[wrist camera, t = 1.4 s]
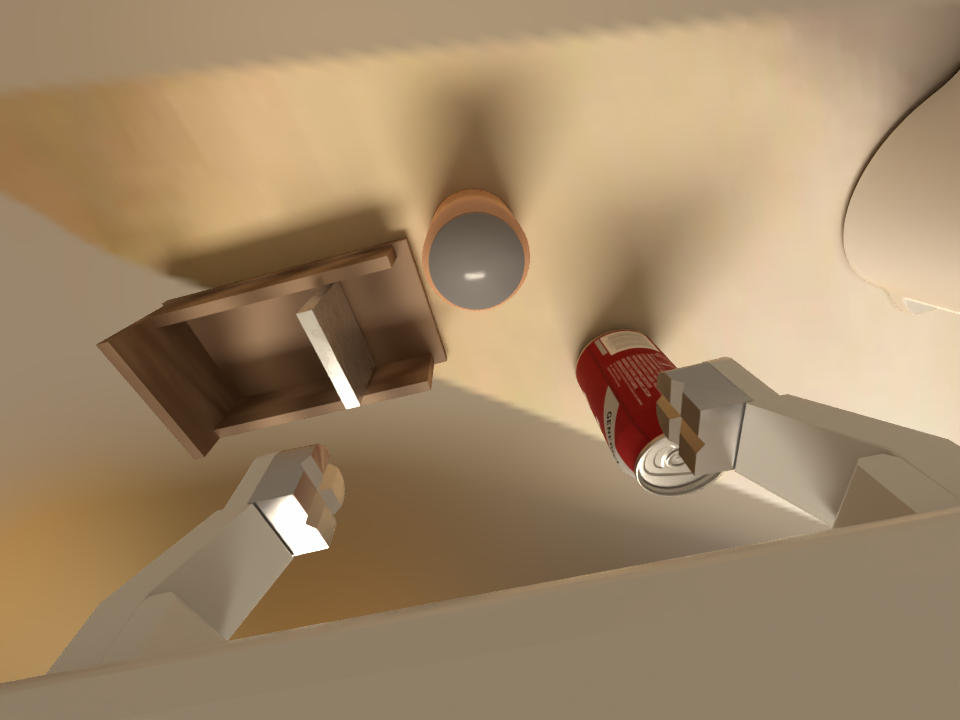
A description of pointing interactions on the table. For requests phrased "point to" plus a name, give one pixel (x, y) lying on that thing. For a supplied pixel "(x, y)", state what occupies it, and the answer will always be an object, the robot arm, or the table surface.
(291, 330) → the tray
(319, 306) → the block
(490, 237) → the jar
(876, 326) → the table surface
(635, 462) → the soda can
